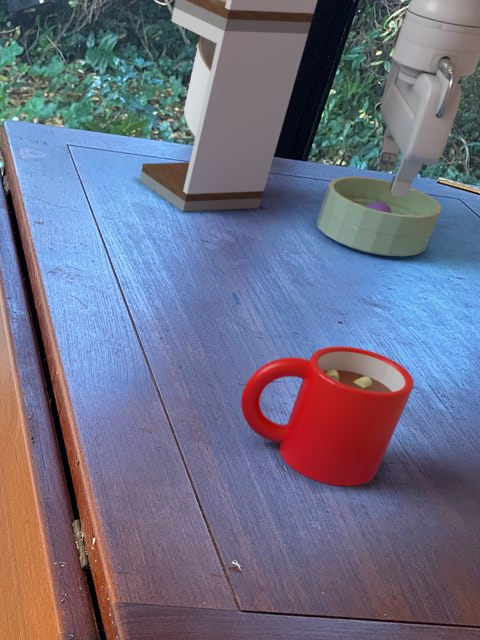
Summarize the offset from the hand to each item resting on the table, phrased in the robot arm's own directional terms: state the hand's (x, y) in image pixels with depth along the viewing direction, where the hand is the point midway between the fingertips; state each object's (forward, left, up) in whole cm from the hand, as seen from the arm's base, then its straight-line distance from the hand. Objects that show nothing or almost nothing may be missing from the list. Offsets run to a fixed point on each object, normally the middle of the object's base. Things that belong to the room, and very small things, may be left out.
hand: (390, 181), depth 117 cm
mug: (+13, +55, -7) cm, 57 cm away
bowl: (0, 0, -7) cm, 7 cm away
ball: (0, 0, -4) cm, 4 cm away
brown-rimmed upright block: (+21, -6, -7) cm, 23 cm away
